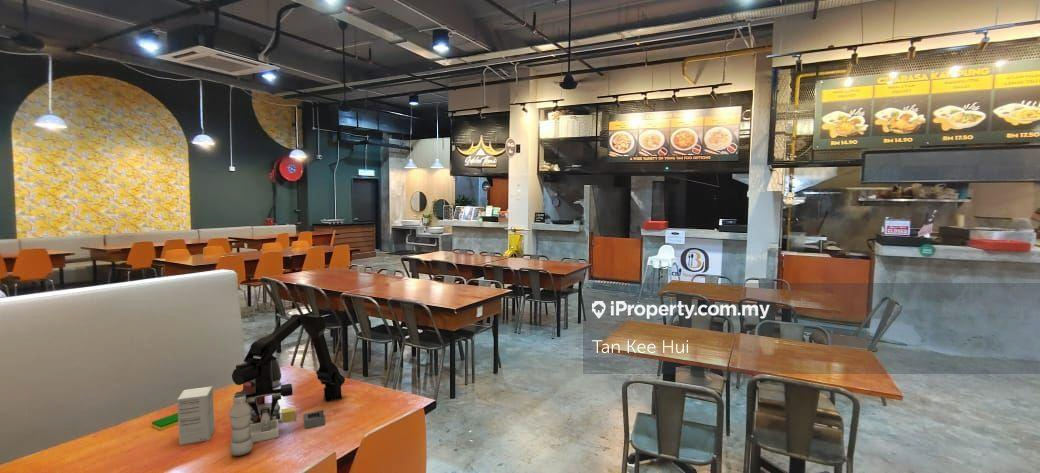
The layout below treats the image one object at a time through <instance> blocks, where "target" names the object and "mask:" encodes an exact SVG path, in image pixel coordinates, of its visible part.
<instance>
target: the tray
mask: <svg viewBox="0 0 1040 473" xmlns="http://www.w3.org/2000/svg"><path fill="white" fill-rule="evenodd" d="M279 429H280V428H279V421H278V419H276V420H271V421H270V431H265V432H261V422H257V423H256V424H250V432H251V438H252V442H253V444H256V443H259V442H265V441H269V440H273V439H277V438H278V439H279V438H280V435H279V434H280V431H279Z"/></svg>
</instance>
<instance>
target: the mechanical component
mask: <svg viewBox="0 0 1040 473" xmlns="http://www.w3.org/2000/svg"><path fill="white" fill-rule="evenodd" d="M242 391H247V394H249V393H255V387H251V381H249V382H246V383H244V384H242V389H241V391H240V392H242ZM265 399H266V396H263V397H258V398H257V404H258V405H262V404H266V400H265ZM250 407H251V406H250Z"/></svg>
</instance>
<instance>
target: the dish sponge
mask: <svg viewBox="0 0 1040 473" xmlns="http://www.w3.org/2000/svg"><path fill="white" fill-rule="evenodd" d="M177 426H179V425H178V412H176V413H174V414H171V415H168V416H165V417H162V418H159V419H156V420H153V421H151V427H152V428H153V429H155V430H158V431H160V432H161V431H165V430H168V429H171V428H173V427H177Z"/></svg>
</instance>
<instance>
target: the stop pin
mask: <svg viewBox="0 0 1040 473" xmlns="http://www.w3.org/2000/svg"><path fill="white" fill-rule="evenodd" d="M260 414H261V415H260V423H261V432H265V431H270V408H269V407H264V408H261V409H260Z"/></svg>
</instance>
